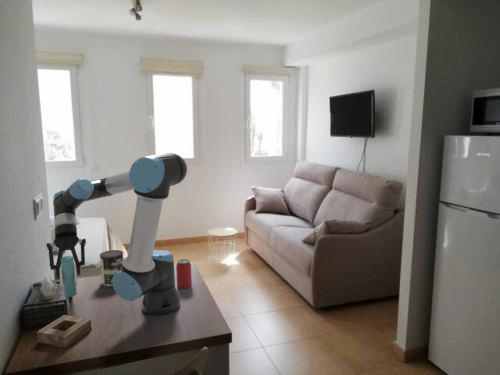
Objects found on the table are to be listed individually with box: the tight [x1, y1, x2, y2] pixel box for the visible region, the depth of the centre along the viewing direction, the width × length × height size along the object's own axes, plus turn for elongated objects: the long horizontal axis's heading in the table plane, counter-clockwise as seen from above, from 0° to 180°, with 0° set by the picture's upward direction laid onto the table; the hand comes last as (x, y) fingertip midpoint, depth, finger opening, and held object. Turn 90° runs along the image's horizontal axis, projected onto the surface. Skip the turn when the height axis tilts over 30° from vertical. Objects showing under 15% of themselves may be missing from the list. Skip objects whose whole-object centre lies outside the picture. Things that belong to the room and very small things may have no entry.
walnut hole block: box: [36, 314, 92, 349], centre depth 131 cm, size 12×12×4 cm
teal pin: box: [61, 255, 78, 298], centre depth 134 cm, size 4×4×14 cm
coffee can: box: [99, 249, 124, 287], centre depth 175 cm, size 10×10×14 cm
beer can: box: [175, 258, 193, 290], centre depth 170 cm, size 7×7×12 cm
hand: (69, 284), depth 130 cm, fingers closed on teal pin, 4 cm apart
